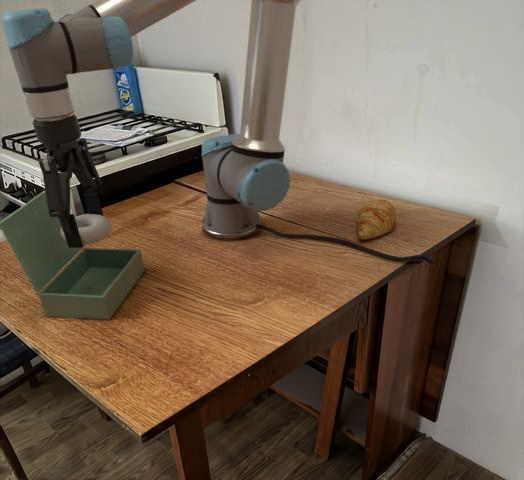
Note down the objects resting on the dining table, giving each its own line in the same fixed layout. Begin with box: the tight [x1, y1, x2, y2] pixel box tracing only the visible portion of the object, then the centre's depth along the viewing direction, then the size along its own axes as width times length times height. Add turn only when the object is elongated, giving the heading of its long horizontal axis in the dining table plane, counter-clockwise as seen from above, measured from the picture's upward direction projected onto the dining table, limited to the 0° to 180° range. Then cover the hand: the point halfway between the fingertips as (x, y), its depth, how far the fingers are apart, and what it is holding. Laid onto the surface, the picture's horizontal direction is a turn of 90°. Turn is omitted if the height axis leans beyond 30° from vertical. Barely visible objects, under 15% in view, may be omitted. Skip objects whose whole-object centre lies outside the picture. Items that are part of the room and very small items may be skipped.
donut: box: [60, 213, 112, 246], centre depth 100 cm, size 10×4×10 cm
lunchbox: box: [38, 247, 146, 321], centre depth 107 cm, size 14×21×5 cm, turn 171°
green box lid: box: [0, 190, 86, 293], centre depth 102 cm, size 14×21×1 cm
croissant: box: [355, 199, 397, 240], centre depth 127 cm, size 21×10×8 cm, turn 153°
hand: (87, 235), depth 100 cm, fingers closed on donut, 10 cm apart
